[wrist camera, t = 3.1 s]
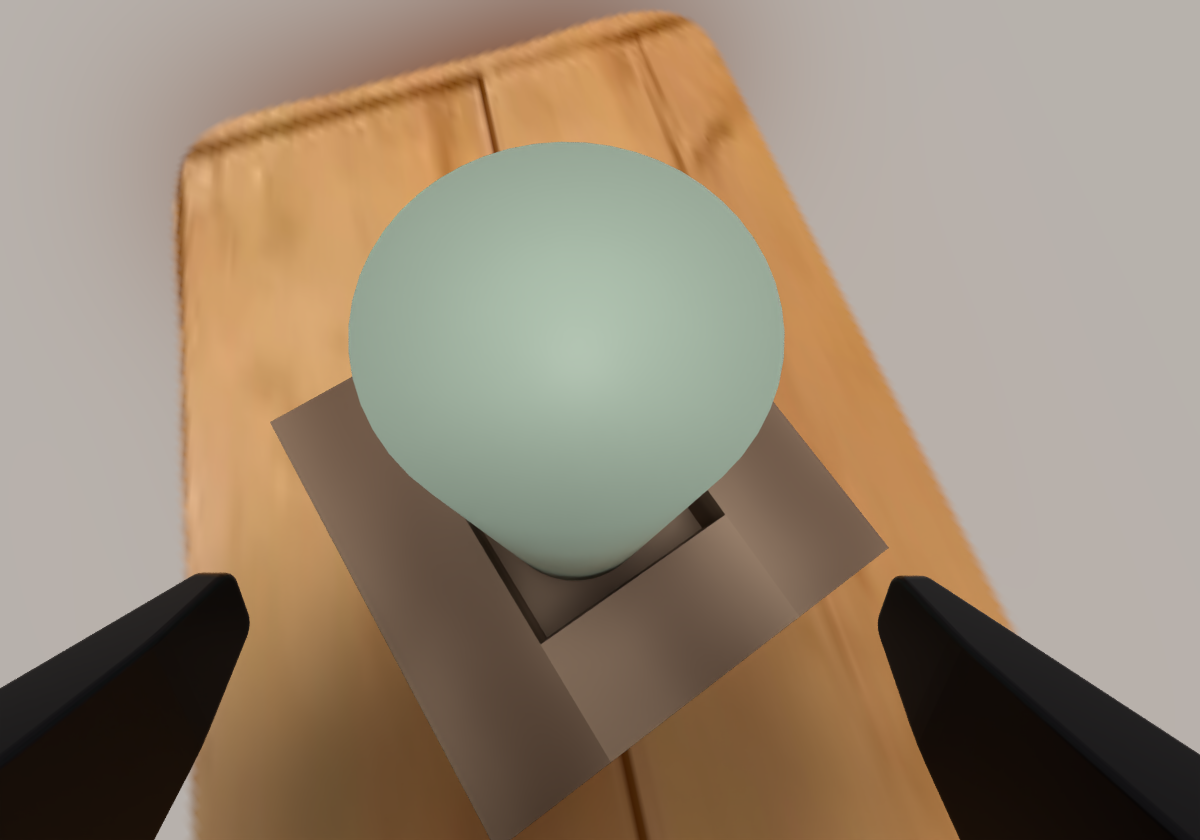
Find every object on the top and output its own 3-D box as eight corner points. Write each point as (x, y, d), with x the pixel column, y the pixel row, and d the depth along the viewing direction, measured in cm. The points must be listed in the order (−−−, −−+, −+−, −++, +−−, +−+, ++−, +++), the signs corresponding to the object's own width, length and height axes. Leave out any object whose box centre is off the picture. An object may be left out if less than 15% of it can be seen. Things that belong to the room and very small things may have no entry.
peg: (552, 612, 17) (492, 637, 5) (471, 481, 18) (273, 259, 6) (680, 524, 18) (873, 376, 6) (596, 403, 19) (624, 85, 7)
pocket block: (513, 799, 16) (496, 850, 13) (324, 453, 19) (269, 422, 16) (833, 557, 19) (888, 547, 15) (622, 281, 21) (631, 222, 18)
